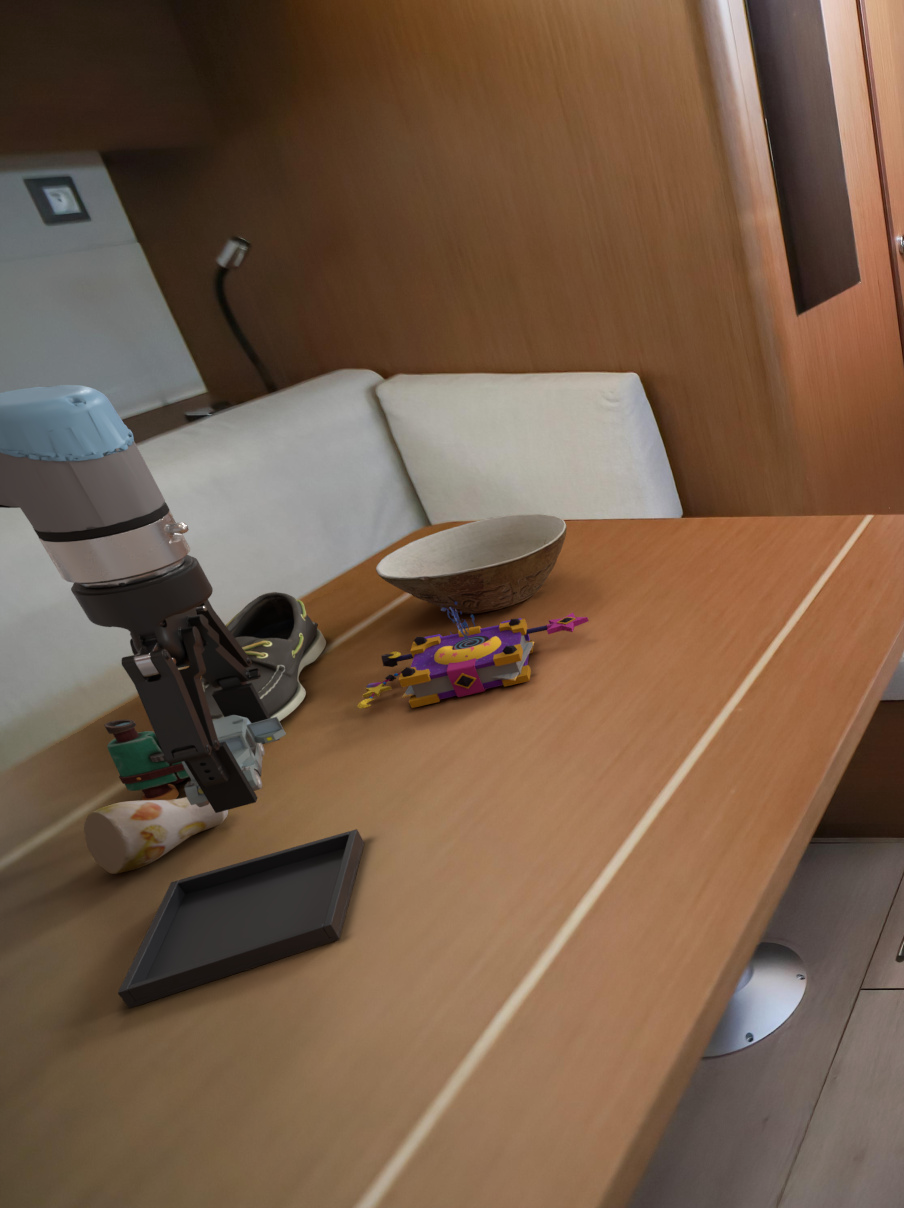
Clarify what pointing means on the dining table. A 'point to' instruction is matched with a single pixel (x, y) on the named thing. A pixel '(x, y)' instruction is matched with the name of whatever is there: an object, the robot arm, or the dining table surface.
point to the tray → (245, 917)
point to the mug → (144, 830)
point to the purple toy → (466, 660)
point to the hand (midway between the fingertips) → (250, 772)
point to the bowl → (478, 562)
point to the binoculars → (143, 762)
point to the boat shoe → (274, 651)
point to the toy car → (240, 750)
